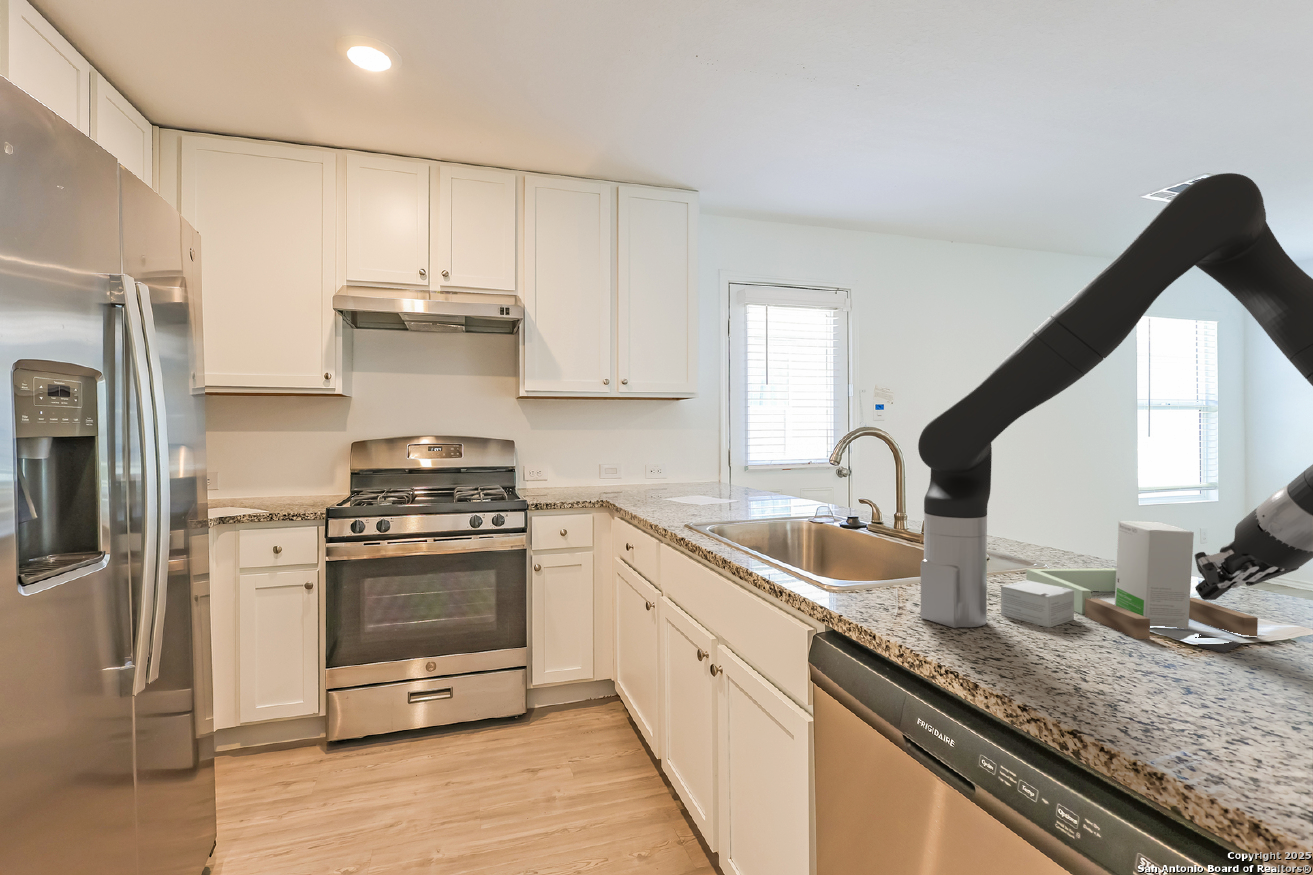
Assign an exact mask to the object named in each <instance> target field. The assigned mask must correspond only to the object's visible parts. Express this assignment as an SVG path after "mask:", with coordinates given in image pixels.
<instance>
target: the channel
mask: <svg viewBox="0 0 1313 875" xmlns="http://www.w3.org/2000/svg"><path fill="white" fill-rule="evenodd" d="M1084 617H1085V618H1088V619H1089V620H1093V621H1095V622H1096V623H1099V624H1101V625H1104V626H1106V627H1107V628H1110V629H1113V630H1114V631H1117V632H1118V633H1122V634H1123V635H1126V636H1127V637H1128V636H1129V637H1131V638H1132V639H1135V640H1150V639H1151V635H1150V634H1151V632H1150V631H1151V628H1150V619H1149V618H1147V617H1144V616H1141V615H1139V614H1136V613H1134V612H1131V611H1129V610H1126V609H1124V608H1121V607H1118V606H1116V605H1115V604H1113V603H1110V602H1108V601H1105V600H1103V599H1100V598H1095V597H1094V598H1093V597H1091V598H1085V614H1084ZM1189 618H1190V619H1189V620H1192V619H1193V621H1195V622H1198V621H1199V622H1198V623H1200V622H1201V624H1203V625H1207V626H1209V625H1211V626H1210V627H1212V626H1213V627H1212V628H1214V627H1216V628H1215V629H1217V628H1219V629H1218V630H1220V629H1224V630H1227V631H1229V632H1233V633H1238V634H1241V635H1249V636H1257V637H1258V629H1259V628H1258V626H1259V625H1258V622H1259V620H1258V619H1259V617H1256V616H1254V615H1251V614H1247V613H1244V612H1240V611H1238V610H1233V609H1232V608H1228V607H1225V606H1221V605H1219V604H1216V603H1212V602H1209V601H1207V600H1203V599H1199V598H1197V597H1190V608H1189Z"/></svg>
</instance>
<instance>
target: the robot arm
mask: <svg viewBox="0 0 1313 875" xmlns="http://www.w3.org/2000/svg"><path fill="white" fill-rule="evenodd" d="M1272 231H1273V230H1271V227H1270V226H1269V224H1268V223H1267V212H1266V208H1265V204H1264V197H1263V195H1262V192H1261V190H1260V188H1259V187H1258V185H1257V184H1256V183H1255V181H1254V180H1252V179H1251V178H1250V177H1248V176H1245V175H1243V174H1240V173H1234V172H1225V173H1218V174H1214V175H1213V174H1212V175H1209V176H1207V177H1204V178H1201V179H1199V180H1197V181H1195V182H1193V183H1192V184H1190V185H1188V186H1187V187H1185V188H1184V189H1183V190H1180V192H1178V193H1177V194H1176V195H1175V196H1174V197H1173V198H1172V199H1171V200H1170V201H1169V202H1168V203H1167V204H1166V205H1165V206H1164V207H1163V208H1162V209H1161V210H1160V211H1159V212H1158V213H1157V215H1155V217H1154V218H1153V219H1152V220H1151V221H1150V222H1149V223H1148V225H1147V226H1146V227H1145V228H1144V229H1143V230H1142V231H1141V232H1140V233H1139V234H1138V235H1137V236H1136V237H1135V239H1133V240H1132V242H1131V243H1130V244H1129V245H1128V246H1126V248H1125V249H1124V250H1123V251H1122V252H1121V253H1120V254H1119V255H1118V256H1117V257H1116V258H1115V259H1114V260H1112V262H1110V263H1109V264H1108V265H1107V266H1106V267H1104V269H1102V270H1101V271H1100V272H1099V273H1098V274H1097V275H1096V276H1094V277H1093V278H1092V279H1090V281H1089V282H1087V284H1085V285H1084V286H1083V287H1082V288H1080V290H1078V292H1076V293H1075V294H1074V295H1073V296H1072V297H1071V298H1070V299H1068V301H1066V302H1065V303H1064V304H1063V305H1062V306H1060V307H1059V308H1058V309H1056V310H1055V311H1054V312H1053V313H1052V314H1051V315H1050V316H1049V317H1048V318H1046V319H1045V320H1044V321H1043V322H1042V323H1041V324H1040V325H1038V326H1037V327H1036V328H1035V329H1034V331H1032V332H1030V334H1029V335H1027V337H1026V338H1025V339H1024V340H1022V341H1021V343H1020V344H1018V346H1016V347H1015V348H1014V349H1013V350H1012V351H1011V353H1008V355H1007V356H1006V357H1005V358H1004V359H1003V360H1001V361H1002V362H1000V363H999V364H998V365H997V366H996V367H995V369H993V371H991V373H989V374H988V376H986V377H985V379H984V380H983V381H981V383H980V384H978V385H977V386H976V387H975V388H974V389H972V391H970V392H969V393H968V394H966V395H965V396H963V397H962V398H961V399H960V400H958V401H957V402H955V403H954V404H953V405H952V406H949V408H948V409H946V410H945V411H943V412H942V413H940V414H939V415H938V416H936V417H935V418H933V419H932V420H931V421H929V423H927V425H926V426H924V428H923V430H922V431H921V433H920V436H919V439H918V444H917V446H918V448H917V450H918V453H919V457H920V459H921V461H922V462H923V463H924V465H925V466H927V467H929V468H930V479H929V480H930V481H929V485H928V488H927V491H926V493H925V496H924V499H923V501H924V502H923V560H921V561H920V618H921V619H923V620H927V621H931V622H934V623H937V624H940V625H944V626H946V627H950V628H953V629H958V628H978V627H982V626H984V625H986V624H987V620H988V618H987V610H988V609H987V608H988V607H987V606H988V604H987V602H988V598H987V594H988V592H987V591H988V589H987V588H988V586H987V584H988V583H987V582H988V578H987V576H988V575H987V573H988V571H987V570H988V565H987V563H988V562H987V561H988V559H987V557H988V544H987V543H988V504H989V500H990V496H991V491H992V490H991V489H992V487H991V486H992V462H993V460H992V456H993V454H992V442H993V441H994V440H995V439H996V438H997V437H999V435H1001V434H1002V433H1003V432H1004V431H1005V430H1006V429H1007V428H1009V426H1010V425H1011V424H1013V423H1014V422H1015V421H1017V420H1018V419H1019V418H1021V417H1023V416H1024V415H1025V414H1027V413H1028V412H1031V411H1033V410H1034V409H1035V408H1037V407H1038V406H1040V405H1042V404H1044V403H1045V402H1047V401H1049V400H1051V399H1052V398H1054V397H1056V396H1057V395H1059V394H1061V393H1062V392H1063V391H1065V390H1066V389H1068V388H1070V387H1071V386H1072V385H1073V384H1076V382H1078V381H1079V380H1080V379H1082V378H1083V377H1085V376H1086V375H1087V374H1088V373H1089V372H1090V371H1092V370H1093V369H1094V368H1095V367H1097V366H1098V365H1100V363H1101V362H1103V361H1104V360H1105V359H1106V358H1108V357H1109V356H1110V355H1111V354H1112V353H1113V352H1114V351H1115V350H1116V349H1117V348H1118V347H1119V346H1121V343H1123V342H1124V341H1125V339H1126V338H1127V337H1128V335H1130V333H1131V332H1132V331H1133V329H1134V328H1135V327H1136V325H1137V324H1138V323H1139V321H1141V319H1142V317H1143V316H1144V315H1145V313H1146V312H1147V311H1148V310H1149V308H1150V307H1151V306H1152V304H1153V303H1154V302H1155V301H1156V299H1157V298H1158V297H1159V296H1160V295H1161V294H1162V293H1163V292H1164V291H1165V290H1166V289H1167V288H1168V287H1170V286H1171V284H1173V283H1174V282H1175V281H1176V280H1178V279H1179V278H1180V277H1181V276H1183V275H1184V274H1185V273H1187V272H1188V271H1189V270H1191V269H1192V268H1193V267H1194V266H1195V267H1197V269H1199V270H1201V271H1202V272H1204V273H1205V274H1206V275H1208V276H1209V277H1210V278H1212V279H1213V280H1215V281H1216V282H1217V283H1218V284H1220V285H1221V286H1222V287H1223V288H1225V289H1226V290H1227V291H1228V292H1229V293H1230V294H1231V295H1232V296H1233V297H1234V298H1236V299H1237V301H1238V302H1239V303H1240V304H1241V305H1242V306H1244V308H1245V309H1246V310H1247V312H1248V313H1250V314H1251V316H1252V317H1253V319H1255V321H1256V322H1257V323H1258V324H1259V326H1260V327H1261V328H1262V330H1263V331H1264V332H1265V333H1266V334H1267V336H1268V337H1269V338H1270V340H1271V341H1272V342H1273V343H1274V345H1276V347H1277V348H1278V349H1279V351H1280V352H1281V353H1282V354H1283V355H1284V357H1286V359H1287V360H1288V362H1290V363H1291V364H1292V365H1293V366H1294V367H1295V368H1296V370H1297V371H1298V372H1299V373H1300V374H1301V375H1302V376H1303V378H1305V380H1307V382H1308V383H1309V384H1310V385H1311V386H1312V387H1313V277H1312V276H1309V275H1308V274H1307V273H1306V272H1305V271H1304V270H1303V269H1302V268H1301V267H1299V266H1298V265H1297V263H1295V261H1293V259H1291V257H1290V256H1289V255H1288V254H1287V252H1286V251H1285V250H1284V248H1283V246H1281V244H1280V242H1279V241H1278V239H1277V238H1276V236H1275V235H1274V233H1273V232H1272ZM1194 560H1195V563H1196V568H1197V571H1198V573H1199V574H1201V576H1202V577H1203V578H1204V579H1203V580H1202V581H1201V582H1200V583H1198V584H1196V586H1195V591H1196V593H1197V594H1198V596H1200V598H1201V600H1203V601H1216V600H1218V599H1219V598H1220V597H1221V596H1223V595H1224V594H1225V593H1227V592H1228V591H1230V590H1231V589H1237V588H1239V587H1241V586H1242V585H1244V584H1245V585H1246V587H1249V586H1255V585H1257V584H1260V583H1263V582H1266V581H1269V580H1273V579H1275V578H1277V577H1280V576H1284V575H1286V574H1290V573H1292V572H1295V571H1297V570H1299V569H1300V567H1302V566H1304V565H1305V564H1307V563H1308V562H1309V561H1311V560H1313V463H1312V464H1311V465H1310V466H1308V467H1307V468H1306V469H1305V470H1304V471H1303V472H1301V473H1300V474H1299V475H1298V476H1296V477H1295V478H1294V479H1293V480H1291V482H1289V483H1288V484H1287V485H1285V486H1283V487H1282V488H1279V489H1278V490H1277V491H1275V492H1274V493H1273V494H1271V495H1270V496H1269V497H1267V498H1266V499H1265V500H1264V501H1263V502H1262V503H1260V505H1258V506H1257V507H1256V508H1254V510H1253V511H1251V512H1250V513H1248V515H1246V516H1245V517H1244V518H1243V519H1241V521H1239V522H1238V523H1237V524H1236V526H1235V528H1234V538H1233V541H1231V542H1230V543H1227V544H1226V545H1223V546H1222V547H1220V549H1219V552H1218V553H1217V552H1216V553H1214V554H1206V552H1205V551H1199V552H1197V553H1195V554H1194Z"/></svg>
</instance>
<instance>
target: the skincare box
mask: <svg viewBox="0 0 1313 875" xmlns="http://www.w3.org/2000/svg"><path fill="white" fill-rule="evenodd" d="M1117 523H1118V525H1117V526H1118V527H1117V546H1116V547H1117V549H1116V587H1115V591H1114V592H1115V593H1114V605H1116V606H1118V607H1121V608H1124V609H1126V610H1129V611H1131V612H1134V613H1136V614H1139V615H1141V616H1144V617H1147V618H1149V619H1150V626H1165V627H1177V628H1185V629H1184V630H1187V629H1188V628H1189V624H1190V623H1189V620H1190V619H1189V608H1190V598H1191V588H1192V584H1191V583H1192V570H1193V569H1192V568H1193V552H1194V537H1195V536H1194V531H1191V530H1188V529H1184V528H1181V527H1179V526H1176V525H1170V524H1167V523H1164V522H1160V521H1143V520H1142V521H1140V520H1139V521H1137V520H1134V521H1133V520H1118V521H1117ZM1189 629H1190V628H1189ZM1189 629H1188V630H1189Z"/></svg>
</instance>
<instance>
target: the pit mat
mask: <svg viewBox="0 0 1313 875" xmlns="http://www.w3.org/2000/svg"><path fill="white" fill-rule="evenodd" d="M1200 635H1201V636H1200ZM1195 638H1197V637H1195ZM1198 638H1218V637H1217V636H1213V635H1208V634H1203V633H1200V634H1199V637H1198ZM1231 641H1232V642H1229V643H1224V644H1198V646H1199V647H1198V648H1202V649H1206V650H1209V651H1214V652H1217V653H1223V654H1226V653H1227V652H1229V651H1232V650H1233V649H1236V648H1237V647H1239V646H1241V642H1239V641H1234V640H1231Z"/></svg>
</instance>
